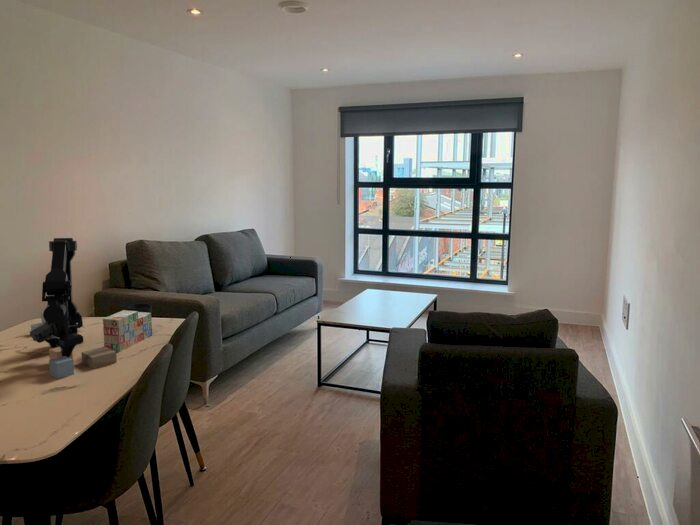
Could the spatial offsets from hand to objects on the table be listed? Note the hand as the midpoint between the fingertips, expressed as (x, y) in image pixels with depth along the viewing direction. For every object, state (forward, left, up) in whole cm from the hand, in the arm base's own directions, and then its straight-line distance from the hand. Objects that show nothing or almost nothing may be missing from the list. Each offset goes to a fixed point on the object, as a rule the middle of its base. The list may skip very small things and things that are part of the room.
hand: (61, 360), depth 173 cm
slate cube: (+10, -5, -1) cm, 11 cm away
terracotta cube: (0, 0, -1) cm, 1 cm away
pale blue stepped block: (-35, +15, -1) cm, 38 cm away
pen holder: (-14, +39, -1) cm, 41 cm away
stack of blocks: (-2, +27, -1) cm, 27 cm away
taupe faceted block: (+9, +8, -1) cm, 12 cm away
